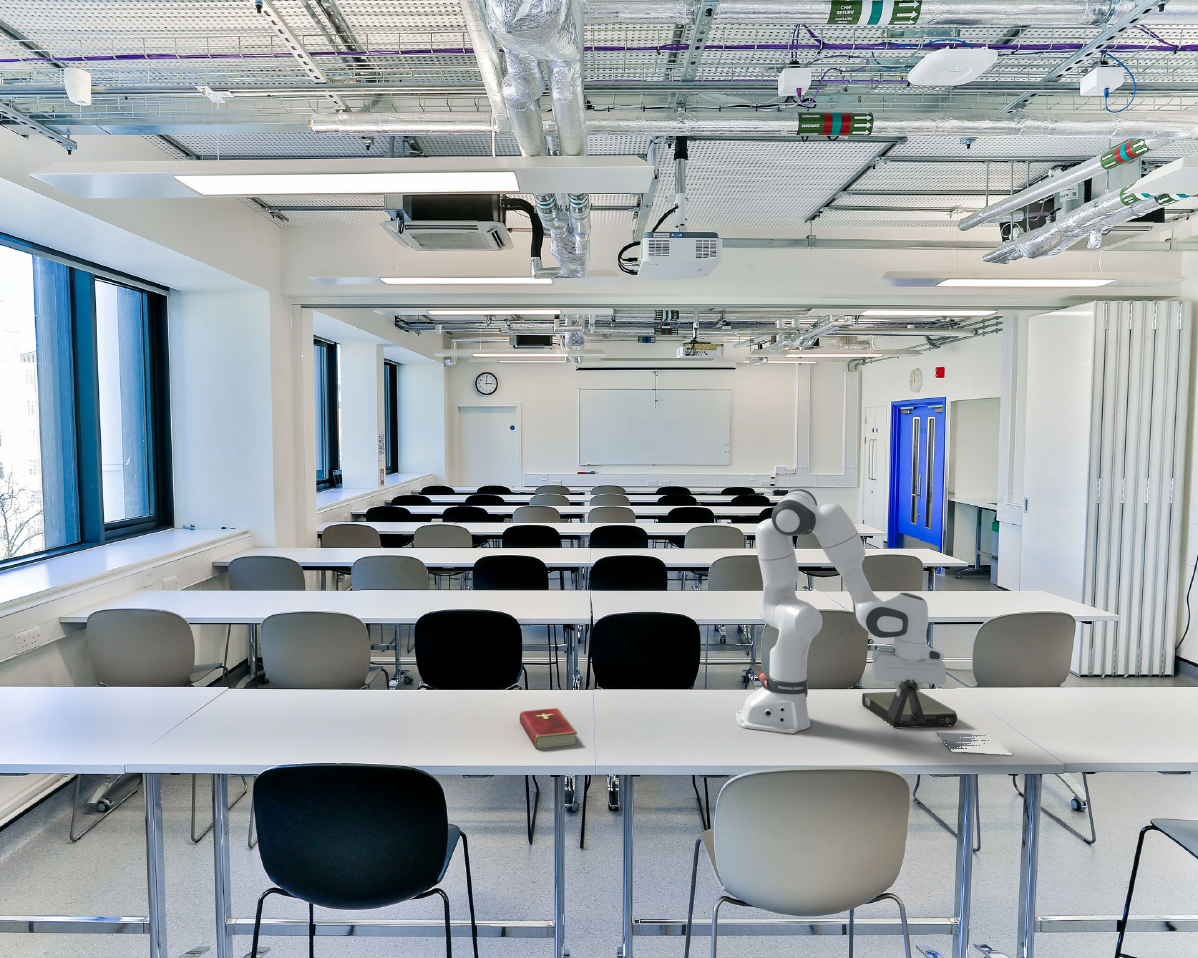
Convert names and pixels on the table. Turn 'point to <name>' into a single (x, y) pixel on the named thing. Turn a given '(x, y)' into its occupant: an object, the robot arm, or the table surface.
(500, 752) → the table surface
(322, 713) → the table surface
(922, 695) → the network switch
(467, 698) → the table surface
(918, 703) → the black slotted holder
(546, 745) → the hardcover book
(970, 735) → the rubber mat
